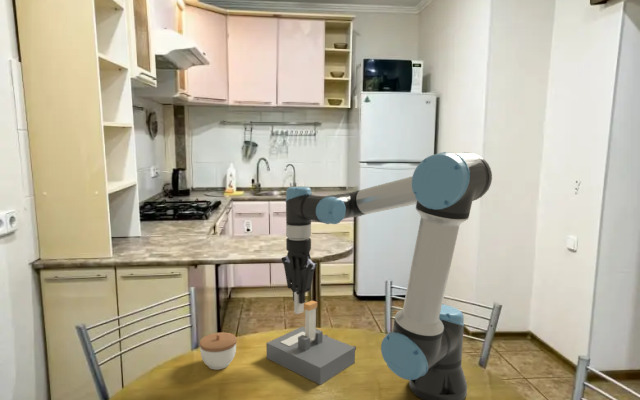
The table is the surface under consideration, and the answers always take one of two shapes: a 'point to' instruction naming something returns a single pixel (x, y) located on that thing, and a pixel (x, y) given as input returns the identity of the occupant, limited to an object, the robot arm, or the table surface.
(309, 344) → the breaker box
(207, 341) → the lidded jar
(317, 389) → the table surface
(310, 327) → the breaker lever
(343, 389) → the table surface
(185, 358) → the table surface
